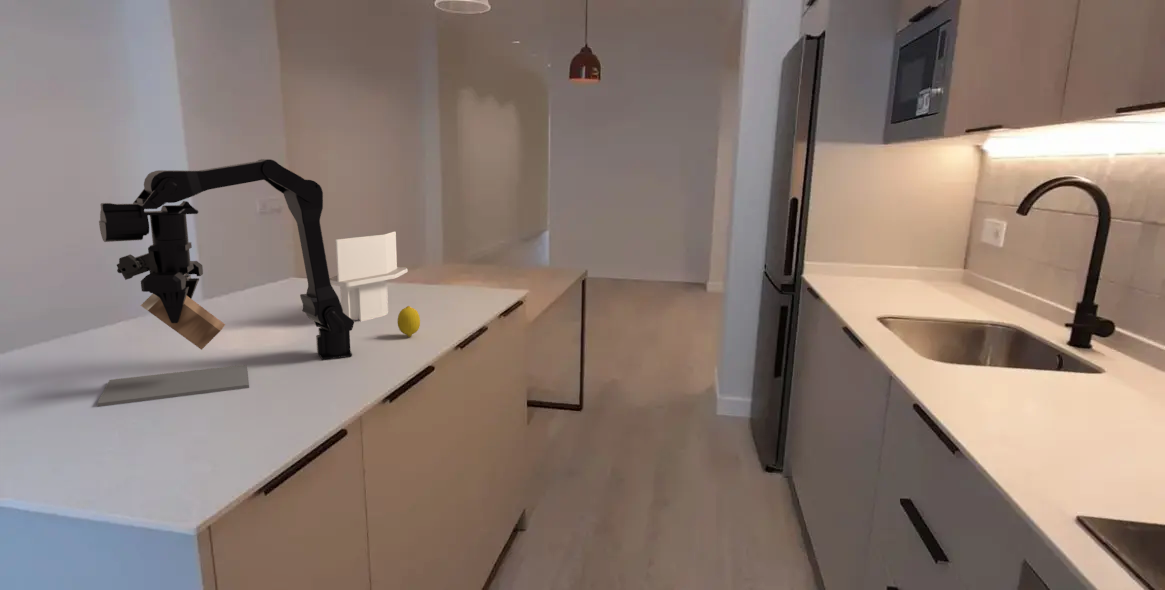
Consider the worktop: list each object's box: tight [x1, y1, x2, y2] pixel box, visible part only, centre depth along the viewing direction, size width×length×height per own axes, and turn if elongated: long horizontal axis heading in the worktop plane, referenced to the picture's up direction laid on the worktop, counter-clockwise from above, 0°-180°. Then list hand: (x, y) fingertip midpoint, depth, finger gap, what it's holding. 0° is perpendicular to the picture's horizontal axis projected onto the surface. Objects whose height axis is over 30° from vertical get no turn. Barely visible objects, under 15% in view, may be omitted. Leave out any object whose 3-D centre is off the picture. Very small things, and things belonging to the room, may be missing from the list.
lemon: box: [397, 305, 421, 338], centre depth 164 cm, size 6×6×8 cm
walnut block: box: [140, 293, 226, 351], centre depth 125 cm, size 5×5×13 cm
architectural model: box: [329, 231, 408, 322], centre depth 184 cm, size 28×21×23 cm
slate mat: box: [96, 364, 250, 407], centre depth 127 cm, size 24×14×1 cm, turn 118°
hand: (178, 319), depth 125 cm, fingers closed on walnut block, 5 cm apart
